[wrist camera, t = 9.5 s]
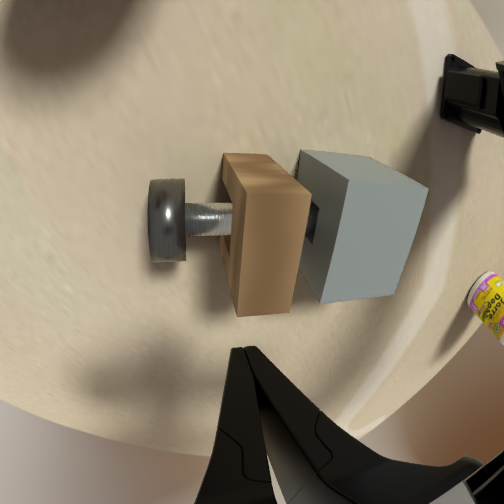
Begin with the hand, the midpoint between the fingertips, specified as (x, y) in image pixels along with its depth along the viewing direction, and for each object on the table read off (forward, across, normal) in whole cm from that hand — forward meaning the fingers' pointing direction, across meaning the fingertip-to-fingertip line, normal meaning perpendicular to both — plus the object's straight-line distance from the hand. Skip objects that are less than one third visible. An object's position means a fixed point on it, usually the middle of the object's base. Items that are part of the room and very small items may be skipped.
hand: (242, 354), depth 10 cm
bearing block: (+13, -10, 0) cm, 16 cm away
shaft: (+13, -3, 0) cm, 13 cm away
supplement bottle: (+13, -40, +12) cm, 43 cm away
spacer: (+13, -3, 0) cm, 14 cm away
